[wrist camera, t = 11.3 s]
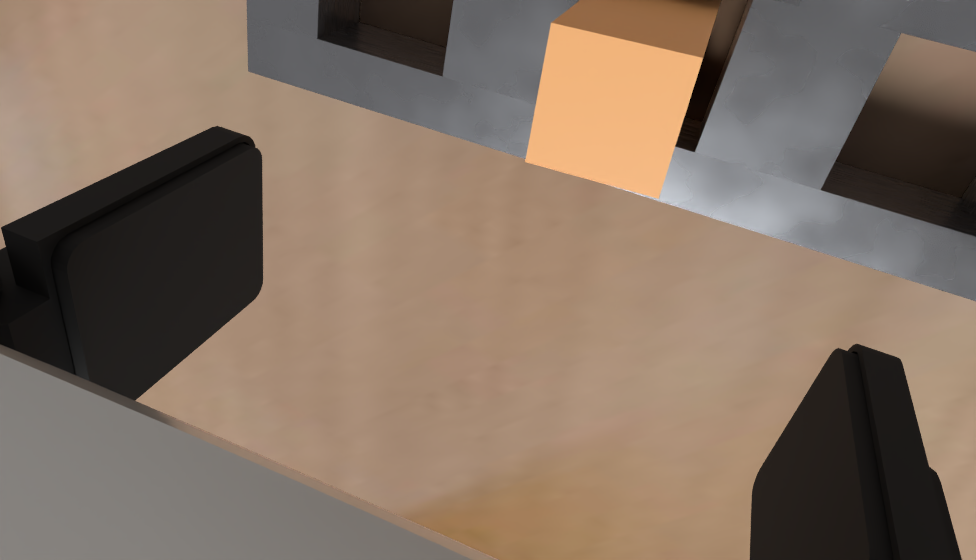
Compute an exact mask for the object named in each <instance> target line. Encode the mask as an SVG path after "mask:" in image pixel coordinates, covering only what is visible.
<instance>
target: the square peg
mask: <svg viewBox="0 0 976 560" xmlns="http://www.w3.org/2000/svg"><path fill="white" fill-rule="evenodd" d="M720 3H721V0H580V1H578V2H577V3H576V4H575V5H573V6H572V7H571V8H569V9H568V10H567V11H566V12H564V13H563V14H562V15H560V16H559V17H558V18H556V19H555V20H554V21H553V22H551V26H550V31H549V36H548V42H547V47H546V53H545V58H544V63H543V69H542V74H541V79H540V85H539V90H538V95H537V101H536V106H535V112H534V117H533V122H532V128H531V133H530V138H529V144H528V149H527V155H526V160H525V162H527V163H531V164H535V165H538V166H542V167H545V168H549V169H553V170H556V171H560V172H563V173H567V174H571V175H574V176H578V177H582V178H585V179H589V180H592V181H596V182H600V183H603V184H607V185H610V186H614V187H618V188H621V189H625V190H629V191H632V192H636V193H639V194H643V195H647V196H650V197H654V198H657V199H659V196H660V193H661V190H662V187H663V183H664V180H665V177H666V174H667V171H668V168H669V164H670V161H671V158H672V155H673V152H674V149H675V145H676V142H677V139H678V136H679V133H680V130H681V126H682V123H683V120H684V117H685V114H686V111H687V107H688V104H689V101H690V98H691V95H692V92H693V88H694V85H695V82H696V79H697V76H698V73H699V69H700V66H701V63H702V60H703V57H704V54H705V50H706V47H707V44H708V41H709V38H710V35H711V31H712V28H713V25H714V22H715V19H716V16H717V12H718V9H719V6H720Z"/></svg>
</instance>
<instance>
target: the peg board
mask: <svg viewBox="0 0 976 560" xmlns="http://www.w3.org/2000/svg"><path fill="white" fill-rule="evenodd" d="M578 1H580V0H453V7H452V14H451V21H450V28H449V35H448V42H447V48H446V47H443V46H439V45H436V44H432V43H429V42H425V41H422V40H419V39H415V38H412V37H408V36H405V35H401V34H398V33H395V32H391V31H388V30H384V29H381V28H377V27H374V26H371V25H367V24H364V23H360V22H359V9H360V0H247V34H248V71H249V72H252V73H255V74H258V75H261V76H265V77H268V78H271V79H274V80H277V81H280V82H284V83H287V84H290V85H293V86H296V87H299V88H303V89H306V90H309V91H312V92H315V93H318V94H322V95H325V96H328V97H331V98H334V99H337V100H341V101H344V102H347V103H350V104H353V105H356V106H359V107H363V108H366V109H369V110H372V111H375V112H378V113H382V114H385V115H388V116H391V117H394V118H397V119H401V120H404V121H407V122H410V123H413V124H416V125H420V126H423V127H426V128H429V129H432V130H435V131H439V132H442V133H445V134H448V135H451V136H454V137H458V138H461V139H464V140H467V141H470V142H473V143H477V144H480V145H483V146H486V147H489V148H492V149H496V150H499V151H502V152H505V153H508V154H511V155H515V156H518V157H521V158H524V159H526V155H527V149H528V144H529V138H530V133H531V128H532V122H533V117H534V112H535V106H536V101H537V95H538V90H539V85H540V79H541V74H542V69H543V63H544V58H545V53H546V47H547V42H548V36H549V31H550V26H551V22H553V21H554V20H555V19H556V18H558V17H559V16H560V15H562V14H563V13H564V12H566V11H567V10H568V9H569V8H571V7H572V6H573V5H575V4H576V3H577V2H578ZM901 33H904V34H908V35H912V36H916V37H920V38H924V39H928V40H931V41H935V42H939V43H943V44H947V45H951V46H955V47H959V48H963V49H967V50H971V51H974V52H976V0H748V3H747V5H746V8H745V10H744V13H743V16H742V18H741V21H740V24H739V26H738V29H737V32H736V34H735V37H734V39H733V42H732V45H731V47H730V50H729V53H728V55H727V58H726V61H725V63H724V66H723V68H722V71H721V74H720V76H719V79H718V82H717V84H716V87H715V90H714V92H713V95H712V98H711V100H710V103H709V105H708V108H707V111H706V113H705V116H704V119H703V121H702V122H699V121H696V120H692V119H689V118H685V117H684V120H683V123H682V126H681V130H680V133H679V136H678V139H677V142H676V145H675V149H674V152H673V155H672V158H671V161H670V164H669V168H668V171H667V174H666V177H665V180H664V183H663V187H662V190H661V193H660V196H659V199H657V198H654V197H650V196H647V195H643V194H639V193H636V192H632V191H629V190H625V189H622V190H625V191H629V192H632V193H635V194H638V195H641V196H644V197H648V198H651V199H654V200H657V201H660V202H663V203H667V204H670V205H673V206H676V207H679V208H682V209H686V210H689V211H692V212H695V213H698V214H701V215H705V216H708V217H711V218H714V219H717V220H720V221H724V222H727V223H730V224H733V225H736V226H739V227H743V228H746V229H749V230H752V231H755V232H758V233H761V234H765V235H768V236H771V237H774V238H777V239H780V240H784V241H787V242H790V243H793V244H796V245H799V246H803V247H806V248H809V249H812V250H815V251H818V252H822V253H825V254H828V255H831V256H834V257H837V258H841V259H844V260H847V261H850V262H853V263H856V264H860V265H863V266H866V267H869V268H872V269H875V270H879V271H882V272H885V273H888V274H891V275H894V276H898V277H901V278H904V279H907V280H910V281H913V282H917V283H920V284H923V285H926V286H929V287H932V288H936V289H939V290H942V291H945V292H948V293H951V294H955V295H958V296H961V297H964V298H967V299H970V300H974V301H976V176H975V178H974V179H973V181H972V182H971V184H970V185H969V187H968V188H967V190H966V192H965V193H964V195H963V196H962V198H959V197H956V196H952V195H949V194H946V193H942V192H939V191H935V190H932V189H928V188H925V187H922V186H918V185H915V184H911V183H908V182H904V181H901V180H898V179H894V178H891V177H887V176H884V175H881V174H877V173H874V172H870V171H867V170H863V169H860V168H857V167H853V166H850V165H846V164H843V163H839V162H836V159H837V157H838V155H839V153H840V151H841V149H842V147H843V145H844V143H845V141H846V139H847V137H848V135H849V133H850V131H851V129H852V127H853V126H854V124H855V122H856V120H857V118H858V116H859V114H860V112H861V110H862V108H863V106H864V104H865V102H866V100H867V98H868V96H869V94H870V92H871V91H872V89H873V87H874V85H875V83H876V81H877V79H878V77H879V75H880V73H881V71H882V69H883V67H884V65H885V63H886V61H887V59H888V57H889V56H890V54H891V52H892V50H893V48H894V46H895V44H896V42H897V40H898V38H899V36H900V34H901ZM606 185H607V184H606ZM613 187H614V186H613ZM616 188H618V187H616ZM619 189H621V188H619Z"/></svg>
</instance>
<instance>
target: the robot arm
mask: <svg viewBox="0 0 976 560" xmlns="http://www.w3.org/2000/svg"><path fill="white" fill-rule="evenodd" d="M1 229H2V233H3V237H4V241H5V245H6V247H5V248H3V249H1V250H0V560H498V559H496V558H494V557H492V556H489V555H487V554H485V553H483V552H480V551H478V550H476V549H474V548H471V547H469V546H467V545H465V544H462V543H460V542H458V541H456V540H453V539H451V538H449V537H447V536H444V535H442V534H440V533H438V532H435V531H433V530H431V529H429V528H426V527H424V526H422V525H419V524H417V523H415V522H413V521H410V520H408V519H406V518H403V517H401V516H399V515H397V514H394V513H392V512H390V511H387V510H385V509H383V508H381V507H378V506H376V505H374V504H371V503H369V502H367V501H365V500H362V499H360V498H358V497H355V496H353V495H351V494H349V493H346V492H344V491H342V490H339V489H337V488H335V487H333V486H330V485H328V484H326V483H323V482H321V481H319V480H317V479H314V478H312V477H310V476H307V475H305V474H303V473H301V472H298V471H296V470H294V469H291V468H289V467H287V466H284V465H282V464H280V463H278V462H275V461H273V460H271V459H268V458H266V457H264V456H262V455H259V454H257V453H255V452H252V451H250V450H248V449H245V448H243V447H241V446H239V445H236V444H234V443H232V442H229V441H227V440H225V439H222V438H220V437H218V436H216V435H213V434H211V433H209V432H206V431H204V430H202V429H199V428H197V427H195V426H192V425H190V424H188V423H185V422H183V421H181V420H178V419H176V418H174V417H171V416H169V415H167V414H164V413H162V412H160V411H157V410H155V409H153V408H150V407H148V406H146V405H143V404H141V403H139V402H136V401H135V400H136V399H137V398H139V397H140V396H141V395H142V394H143V393H145V392H146V391H147V390H148V389H149V388H150V387H152V386H153V385H154V384H155V383H156V382H158V381H159V380H160V379H161V378H162V377H164V376H165V375H166V374H167V373H168V372H169V371H171V370H172V369H173V368H174V367H175V366H177V365H178V364H179V363H180V362H181V361H182V360H184V359H185V358H186V357H187V356H188V355H190V354H191V353H192V352H193V351H194V350H195V349H197V348H198V347H199V346H200V345H201V344H203V343H204V342H205V341H206V340H207V339H208V338H210V337H211V336H212V335H213V334H214V333H216V332H217V331H218V330H219V329H220V328H221V327H223V326H224V325H225V324H226V323H227V322H229V321H230V320H231V319H232V318H233V317H234V316H236V315H237V314H238V313H239V312H240V311H242V310H243V309H244V308H245V307H246V306H247V305H249V304H250V303H251V302H252V301H253V300H254V299H255V298H256V297H257V295H258V294H259V292H260V290H261V287H262V284H263V213H262V155H261V152H260V151H259V150H258V149H257V148H255V144H254V142H253V140H252V139H251V138H250V137H249V136H246V135H243V134H240V133H237V132H234V131H231V130H228V129H225V128H223V127H219V126H216V127H212V128H210V129H208V130H205V131H203V132H201V133H199V134H197V135H195V136H193V137H191V138H189V139H187V140H184V141H182V142H180V143H178V144H176V145H174V146H172V147H170V148H168V149H165V150H163V151H161V152H159V153H157V154H155V155H153V156H151V157H149V158H146V159H144V160H142V161H140V162H138V163H136V164H134V165H132V166H130V167H127V168H125V169H123V170H121V171H119V172H117V173H115V174H113V175H111V176H109V177H106V178H104V179H102V180H100V181H98V182H96V183H94V184H92V185H90V186H87V187H85V188H83V189H81V190H79V191H77V192H75V193H73V194H71V195H68V196H66V197H64V198H62V199H60V200H58V201H56V202H54V203H52V204H49V205H47V206H45V207H43V208H41V209H39V210H37V211H35V212H33V213H31V214H28V215H26V216H24V217H22V218H20V219H18V220H16V221H14V222H12V223H9V224H7V225H5V226H3V227H1ZM750 560H962V559H961V555H960V551H959V548H958V544H957V540H956V537H955V533H954V529H953V526H952V522H951V518H950V514H949V511H948V507H947V503H946V500H945V496H944V492H943V489H942V485H941V482H940V479H939V477H938V475H937V473H936V472H935V471H934V470H933V469H931V468H930V467H929V465H928V461H927V457H926V453H925V449H924V445H923V442H922V438H921V434H920V430H919V426H918V422H917V418H916V414H915V411H914V407H913V403H912V399H911V395H910V391H909V387H908V384H907V380H906V376H905V372H904V368H903V364H902V362H901V360H900V359H899V358H897V357H895V356H892V355H889V354H886V353H883V352H880V351H877V350H874V349H871V348H868V347H865V346H862V345H859V344H855V345H853V346H852V347H851V348H850V349H849V350H848V351H845V350H843V349H840V348H838V349H835V350H834V351H833V352H832V354H831V355H830V357H829V358H828V360H827V361H826V363H825V365H824V366H823V368H822V370H821V371H820V373H819V374H818V376H817V378H816V379H815V381H814V382H813V384H812V386H811V387H810V389H809V391H808V392H807V394H806V395H805V397H804V399H803V400H802V402H801V404H800V405H799V407H798V408H797V410H796V412H795V413H794V415H793V416H792V418H791V420H790V421H789V423H788V425H787V426H786V428H785V429H784V431H783V433H782V434H781V436H780V438H779V439H778V441H777V442H776V444H775V446H774V447H773V449H772V450H771V452H770V454H769V455H768V457H767V459H766V460H765V462H764V463H763V465H762V467H761V468H760V470H759V472H758V474H757V476H756V479H755V482H754V486H753V490H752V509H751V539H750Z"/></svg>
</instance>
